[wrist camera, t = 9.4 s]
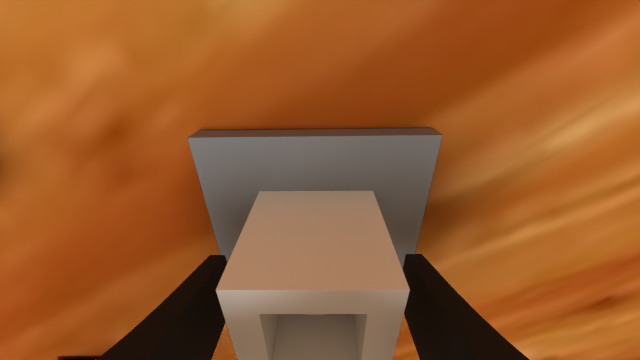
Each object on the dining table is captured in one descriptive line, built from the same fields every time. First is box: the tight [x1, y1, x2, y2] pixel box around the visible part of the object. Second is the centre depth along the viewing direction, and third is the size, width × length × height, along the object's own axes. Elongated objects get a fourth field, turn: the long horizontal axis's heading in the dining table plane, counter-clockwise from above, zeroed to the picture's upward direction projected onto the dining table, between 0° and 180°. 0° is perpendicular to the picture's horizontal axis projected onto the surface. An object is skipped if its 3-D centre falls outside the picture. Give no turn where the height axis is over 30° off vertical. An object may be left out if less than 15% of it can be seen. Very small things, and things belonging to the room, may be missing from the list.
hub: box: [216, 191, 410, 360], centre depth 10 cm, size 5×5×5 cm
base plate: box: [188, 128, 442, 316], centre depth 11 cm, size 10×10×4 cm
